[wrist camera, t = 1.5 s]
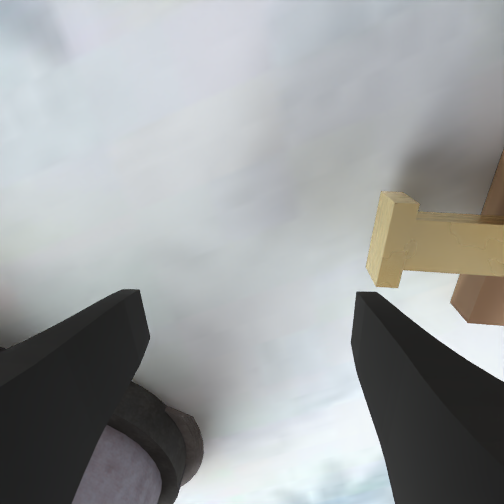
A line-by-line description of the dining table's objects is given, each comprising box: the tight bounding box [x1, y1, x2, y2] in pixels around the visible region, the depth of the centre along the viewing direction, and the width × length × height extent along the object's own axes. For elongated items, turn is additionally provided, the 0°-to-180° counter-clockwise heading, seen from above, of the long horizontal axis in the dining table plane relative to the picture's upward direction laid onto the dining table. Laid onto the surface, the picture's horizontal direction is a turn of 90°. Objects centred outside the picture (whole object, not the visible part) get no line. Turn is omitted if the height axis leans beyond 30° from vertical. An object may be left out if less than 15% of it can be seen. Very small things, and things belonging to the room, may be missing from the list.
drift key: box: [366, 191, 504, 288], centre depth 14 cm, size 6×4×2 cm, turn 88°
